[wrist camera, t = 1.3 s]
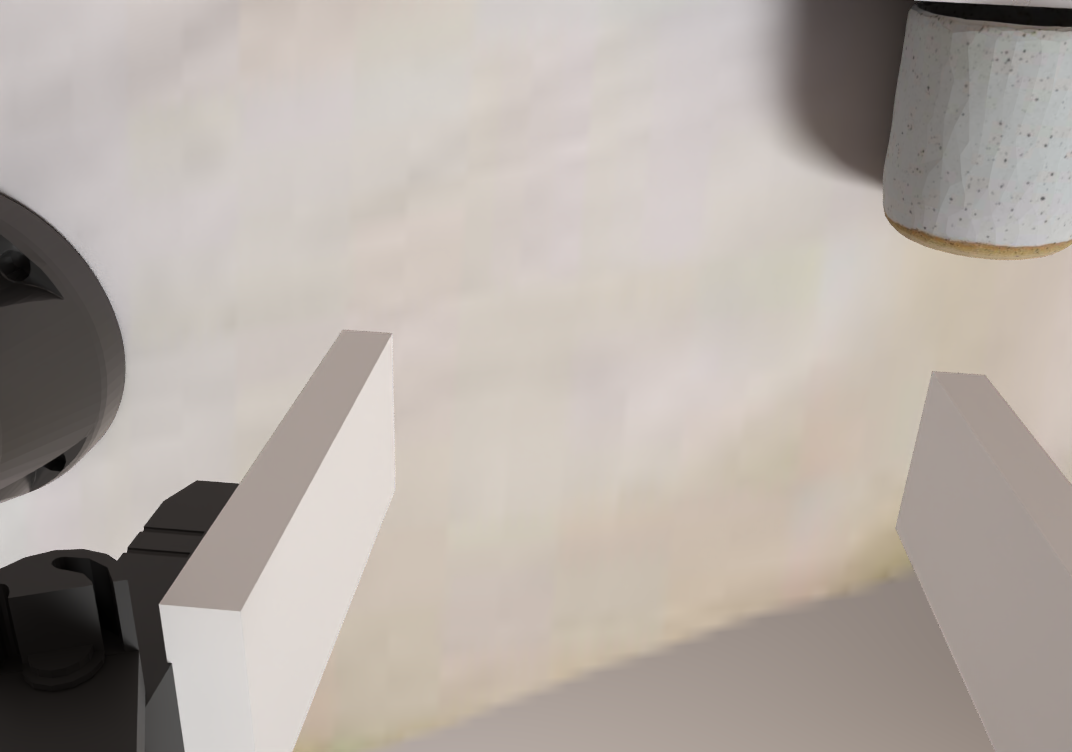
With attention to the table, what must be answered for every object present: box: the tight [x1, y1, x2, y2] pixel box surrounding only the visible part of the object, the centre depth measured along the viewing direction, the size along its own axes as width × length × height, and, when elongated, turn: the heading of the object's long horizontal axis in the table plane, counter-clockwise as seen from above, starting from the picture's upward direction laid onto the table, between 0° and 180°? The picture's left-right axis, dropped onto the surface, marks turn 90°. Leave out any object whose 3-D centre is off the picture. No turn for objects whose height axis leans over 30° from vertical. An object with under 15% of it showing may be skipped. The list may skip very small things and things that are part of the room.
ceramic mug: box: [883, 1, 1072, 260], centre depth 35 cm, size 11×8×8 cm
